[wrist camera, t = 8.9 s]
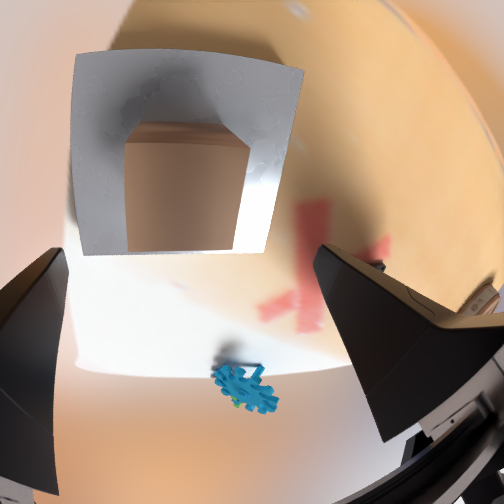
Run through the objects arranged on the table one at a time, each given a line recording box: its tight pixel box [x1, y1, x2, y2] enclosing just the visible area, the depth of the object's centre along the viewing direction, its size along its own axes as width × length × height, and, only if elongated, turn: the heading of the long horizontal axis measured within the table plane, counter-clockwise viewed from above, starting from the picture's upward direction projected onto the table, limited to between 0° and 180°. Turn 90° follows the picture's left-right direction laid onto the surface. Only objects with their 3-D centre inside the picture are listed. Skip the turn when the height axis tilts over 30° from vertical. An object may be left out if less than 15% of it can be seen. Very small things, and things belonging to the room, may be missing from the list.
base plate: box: [71, 49, 304, 256], centre depth 17 cm, size 14×14×2 cm
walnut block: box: [124, 121, 251, 252], centre depth 13 cm, size 5×5×6 cm
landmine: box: [458, 285, 501, 316], centre depth 60 cm, size 24×24×10 cm
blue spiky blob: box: [214, 365, 279, 414], centre depth 36 cm, size 11×6×10 cm
